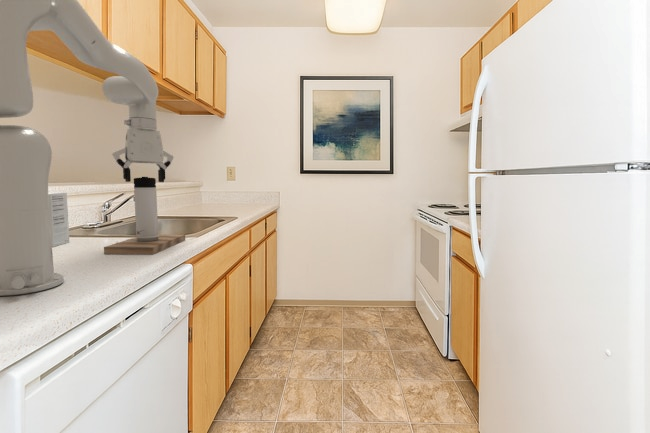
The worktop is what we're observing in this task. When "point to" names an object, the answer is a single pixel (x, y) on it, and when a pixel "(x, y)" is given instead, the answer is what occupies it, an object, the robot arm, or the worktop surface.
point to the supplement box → (58, 218)
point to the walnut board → (144, 245)
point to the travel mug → (146, 209)
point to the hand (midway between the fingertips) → (145, 181)
